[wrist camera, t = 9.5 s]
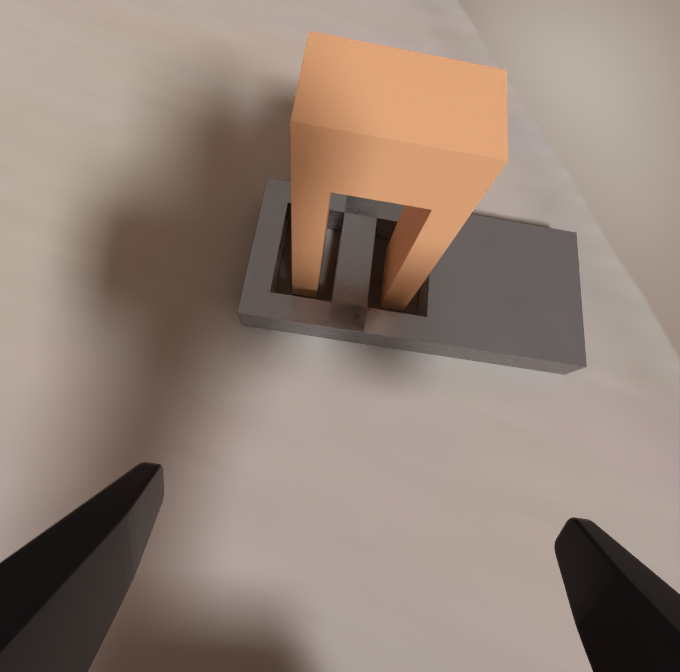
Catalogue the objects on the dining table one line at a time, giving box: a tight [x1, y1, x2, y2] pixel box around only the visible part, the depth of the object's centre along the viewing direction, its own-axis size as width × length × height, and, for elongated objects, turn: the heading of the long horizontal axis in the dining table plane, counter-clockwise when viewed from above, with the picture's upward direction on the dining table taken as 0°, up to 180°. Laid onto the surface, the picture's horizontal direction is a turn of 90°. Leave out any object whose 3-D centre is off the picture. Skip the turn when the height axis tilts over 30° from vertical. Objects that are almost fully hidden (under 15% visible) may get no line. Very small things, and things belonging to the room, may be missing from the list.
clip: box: [290, 31, 508, 311], centre depth 19 cm, size 7×4×13 cm, turn 83°
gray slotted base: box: [237, 178, 587, 374], centre depth 25 cm, size 20×9×2 cm, turn 83°
